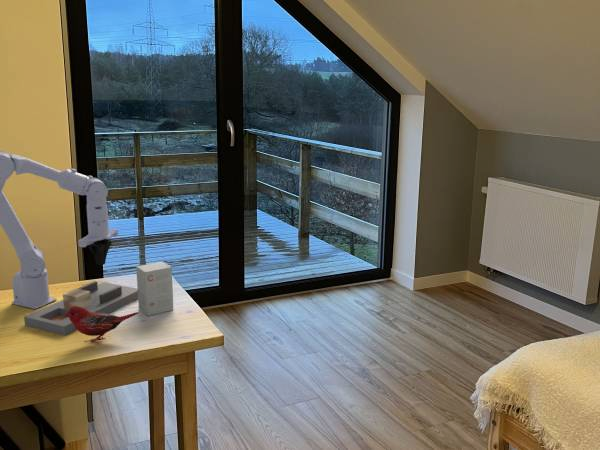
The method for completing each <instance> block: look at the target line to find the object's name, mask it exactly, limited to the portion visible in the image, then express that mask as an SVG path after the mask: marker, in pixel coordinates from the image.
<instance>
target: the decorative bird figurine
mask: <svg viewBox="0 0 600 450" xmlns="http://www.w3.org/2000/svg"><path fill="white" fill-rule="evenodd" d="M139 313H140V312H139V311H137V312H132V313H128V314H125V315H122V316H118V315H113V314H110V313H109V314H104V313H94V312H89V311H88V310H86V309H84V308H82V307H78V306H73V307H71V308H70V309H69V311H68V313H67V314H66V315H65V316H67V317H69V318H70V321H71V322H72V323H73V325H74V326H75V328H76V329H77V331H78V332H79V333H81V334H83V335H86V336H90V337H95V338H92V339H88V340H85V341H83V342H87V343H88V342H91V343H96V342H97V341H103V340H106V339H107V338H106V337H103V336H104V335H105V334H107V333H108V332H111V331H113V330H115V329H116V328H117V327H118V326H119V325H120V324H121V323H122V322H124V321H126V320H128V319H130V318H132V317H134V316H137V315H138V314H139ZM65 316H64V317H65Z"/></svg>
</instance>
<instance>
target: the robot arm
mask: <svg viewBox="0 0 600 450" xmlns="http://www.w3.org/2000/svg"><path fill="white" fill-rule="evenodd" d="M14 172H15V175H16V176H17V175H22V174H32V175H33V176H37V177H41V178H43V179H46V180H50V181H53V182H56V183H57V185H58V187H59V188H60V189H63V190H66V191H68V192H71V193H74V194H76V195H80V196H86V217H87V230H88V231H87V232H88V234H87V235H86V236H84V237H82V238H80V239H78V241H77V242H78V247H80V248H86V247H88V248H89V249H90V252H91V253H92V255H93V257H94V258H93V259H94V260H95V263H96V265H98V266H103V265H104V266H105V265H106V260H107V255H108V252H109V249H110V247H111V246H112V242H113V241H112V240H111V238H113V237H119V229H117V228H116V229H115V228H111V229H109V214H108V204H107V197H108V194H109V191H108V188H107V185H106V184H105V183H104V182H103V181H102V180H100V179H98V177H93V175H85V174H82V173H79V172H77V169H75V168H71V169H69V168H66V169H63V170H58V169H55V168H53V167H51V166H48V165H46V164H44V163H41V162H38V161H36V160H33V159H30V158H28V157H25V156H21V155H18V154H14V153H11V154H10V153H9V152H7V151H4V150H0V226H1V227H2V230H3V231H4V233H5V235H6V236H7V239H8V240H9V242H10V243H11V244H12V245H11V246H12V247H13V248H14V251H15V253H16V255H17V257H18V260H19V262H20V270H19V271H18V272H16V273H15V274H14V276H13V278H12V283H11V284H12V292H13V301H11V304H13V305H15V306H16V305H17V306H21V307H24V308H30V309H35V310H36V309H39V308H41V307H44V306H46V305H49V304H51V303H53V302H56V301H57V300H58V298H57V297H52V296H50V287H49V276H48V269H46V262H45V260H44V258H45V256H44V255H45V254H44V253H43V251H42V250H41V249H40V248H39V247H37V246H36V245H35V244H34V242H33V241H32V239H31V238H30V236H29V235H28V233H27V231H26V229H25V227H24V226H23V224H22V223H21V221H20V219H19V217H18V215H17V214H16V212H15V210H14V208H13V206H12V204H11V203H10V202H9V200H8V198H7V196H6V194H5V193H4V191H3V188H4V187H5V184H6V182H7V180H8V179H9V178H10V177H11V176H12V175H13V173H14Z"/></svg>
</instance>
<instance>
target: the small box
mask: <svg viewBox="0 0 600 450" xmlns="http://www.w3.org/2000/svg"><path fill="white" fill-rule="evenodd" d="M135 268H136V282H137V283H136V284H137V289H138V299H137V300H138V310H139V311H140V312H142V313H143V314H144V315H145V316H146V317H150V316H155V315H158V314H162V313H166V312H170V311H174V293H173V292H174V291H173V290H174V289H173V270H172V266H171V265H169V264H168V263H165V262H164V261H157V262H154V263H153V262H152V263H146V264H142V265H136V267H135Z"/></svg>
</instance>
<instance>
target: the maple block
mask: <svg viewBox="0 0 600 450" xmlns="http://www.w3.org/2000/svg"><path fill="white" fill-rule="evenodd" d="M62 300H63V303H64V308H66V309H70V308H71V307H73V306H78V307H82V308H86V307H88V306H90V305H91V293H90V291H86V290H81V289H77V288H74V289H72V290H69V291H67V292H65V293H62Z"/></svg>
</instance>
